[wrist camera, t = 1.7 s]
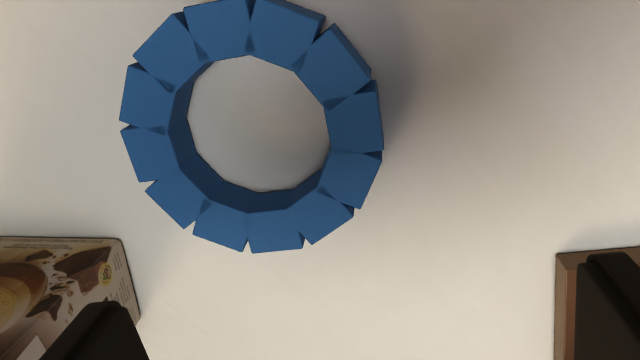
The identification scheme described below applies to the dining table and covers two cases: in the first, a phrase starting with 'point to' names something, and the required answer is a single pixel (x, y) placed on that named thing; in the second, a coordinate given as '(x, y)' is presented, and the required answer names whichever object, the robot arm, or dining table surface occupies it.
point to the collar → (197, 176)
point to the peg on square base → (572, 297)
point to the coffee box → (55, 288)
